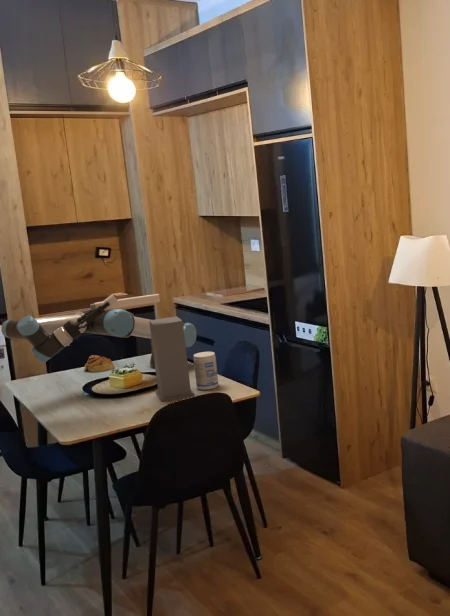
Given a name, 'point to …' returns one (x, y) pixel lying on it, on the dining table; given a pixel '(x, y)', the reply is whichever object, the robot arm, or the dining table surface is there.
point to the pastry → (98, 364)
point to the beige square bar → (130, 302)
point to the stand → (170, 359)
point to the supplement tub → (205, 370)
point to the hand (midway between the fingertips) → (114, 297)
